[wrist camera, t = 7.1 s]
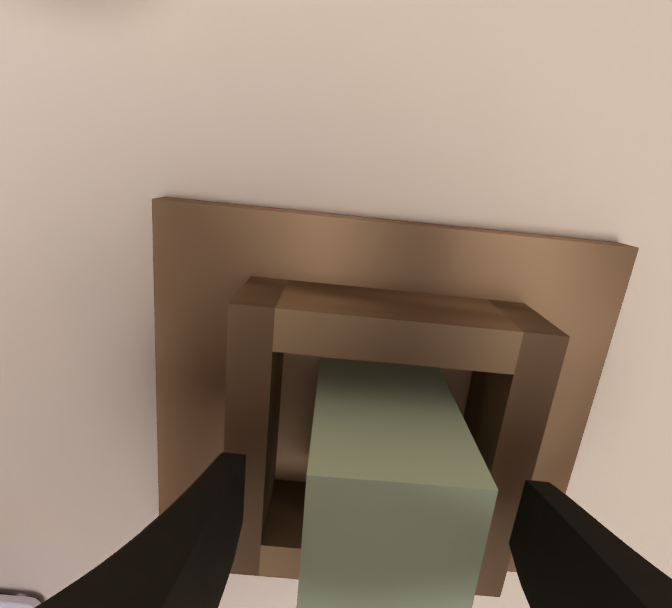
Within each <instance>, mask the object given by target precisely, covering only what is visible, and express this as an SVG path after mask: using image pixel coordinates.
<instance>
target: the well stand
mask: <svg viewBox="0 0 672 608" xmlns="http://www.w3.org/2000/svg"><path fill="white" fill-rule="evenodd" d="M152 220H153V264H154V308H155V351H156V395H157V439H158V483H159V515H160V514H162V513H163V512H164V511H165V510H166V509H167V508H168V507H169V506H170V505H171V504H172V503H173V502H174V501H175V500H176V499H177V498H178V497H179V496H180V495H181V494H182V493H183V492H184V491H185V490H186V489H187V488H188V487H189V486H190V485H191V484H192V483H193V482H194V481H195V480H196V479H197V478H198V477H199V476H200V475H201V474H202V473H203V472H204V471H205V469H206V468H207V467H208V466H209V465H210V464H211V463H212V462H213V461H214V459H215V458H216V457H217V456H218V455H219V454H221V453H222V452H225V453H236V454H246V468H245V491H244V513H243V523H242V527H241V532H240V536H239V541H238V545H237V550H236V554H235V558H234V562H233V565H232V568H231V571H230V573H232V574H243V575H255V576H266V577H277V578H289V579H299V571H300V558H301V544H302V530H303V517H304V503H305V490H306V476H307V467H308V459H309V450H310V442H311V433H312V425H313V416H314V407H315V399H316V390H317V382H318V373H319V365H320V357H322V358H334V359H347V360H359V361H372V362H384V363H396V364H407V365H418V366H428V367H439V369H440V371H441V373H442V375H443V377H444V379H445V381H446V383H447V385H448V387H449V389H450V391H451V393H452V395H453V397H454V399H455V402H456V404H457V406H458V408H459V410H460V412H461V414H462V416H463V418H464V420H465V422H466V424H467V426H468V428H469V430H470V433H471V435H472V437H473V439H474V441H475V443H476V445H477V447H478V449H479V451H480V453H481V455H482V457H483V459H484V461H485V463H486V466H487V468H488V470H489V472H490V474H491V476H492V478H493V480H494V482H495V484H496V486H497V488H498V494H497V498H496V503H495V507H494V512H493V516H492V520H491V525H490V529H489V534H488V538H487V543H486V547H485V551H484V556H483V560H482V565H481V569H480V574H479V578H478V582H477V587H476V591H475V595H482V596H493V597H500V595H501V592H502V588H503V584H504V580H505V577H506V573H507V571H510V572H517V571H516V567H515V564H514V560H513V557H512V553H511V550H510V546H509V540H510V537H511V533H512V529H513V525H514V521H515V518H516V514H517V510H518V506H519V503H520V499H521V495H522V491H523V487H524V484H525V480H533V481H544V482H550V483H551V484H552V485H554V486H555V487H557V488H558V489H559V490H560V491H562V492H563V493H564V494H565V493H566V490H567V486H568V483H569V480H570V476H571V473H572V470H573V466H574V463H575V460H576V456H577V453H578V450H579V446H580V443H581V440H582V436H583V433H584V430H585V426H586V423H587V419H588V416H589V413H590V409H591V406H592V403H593V399H594V396H595V393H596V389H597V386H598V383H599V379H600V376H601V373H602V369H603V366H604V363H605V359H606V356H607V353H608V349H609V346H610V343H611V339H612V336H613V333H614V329H615V326H616V322H617V319H618V316H619V312H620V309H621V306H622V302H623V299H624V296H625V292H626V289H627V286H628V282H629V279H630V276H631V272H632V269H633V266H634V262H635V259H636V256H637V252H638V249H639V248H637V247H633V246H630V245H626V244H622V243H617V242H607V241H597V240H587V239H577V238H567V237H557V236H547V235H537V234H527V233H517V232H508V231H498V230H488V229H478V228H468V227H458V226H448V225H438V224H428V223H418V222H408V221H398V220H388V219H378V218H368V217H358V216H348V215H338V214H328V213H319V212H309V211H299V210H289V209H279V208H269V207H259V206H249V205H239V204H229V203H219V202H209V201H199V200H189V199H179V198H169V197H162V198H155V199H152Z"/></svg>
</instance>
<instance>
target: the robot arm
mask: <svg viewBox="0 0 672 608" xmlns="http://www.w3.org/2000/svg"><path fill="white" fill-rule="evenodd" d="M245 468H246V454H236V453H225V452H222V453H221V454H219V455H218V456H217V457H216V458H215V459H214V461H213V462H212V463H211V464H210V465H209V466H208V467H207V468H206V469H205V471H204V472H203V473H202V474H201V475H200V476H199V477H198V478H197V479H196V480H195V481H194V482H193V483H192V484H191V485H190V486H189V487H188V488H187V489H186V490H185V491H184V492H183V493H182V494H181V495H180V496H179V497H178V498H177V499H176V500H175V501H174V502H173V503H172V504H171V505H170V506H169V507H168V508H167V509H166V510H165V511H164V512H163V513H162V514H160V515H159V516H158V517H157V518H156V519H155V520H154V521H153V522H151V523H150V524H149V525H148V526H147V527H146V528H145V529H144V530H142V531H141V532H140V533H139V534H138V535H137V536H135V537H134V538H133V539H132V540H131V541H129V542H128V543H127V544H126V545H124V546H123V547H122V548H121V549H119V550H118V551H117V552H116V553H114V554H113V555H112V556H110V557H109V558H108V559H106V560H105V561H104V562H102V563H101V564H100V565H98V566H97V567H95V568H94V569H93V570H91V571H90V572H88V573H87V574H85V575H84V576H83V577H81V578H80V579H78V580H77V581H75V582H74V583H72V584H71V585H69V586H68V587H66V588H65V589H63V590H62V591H60V592H59V593H57V594H56V595H54V596H53V597H51V598H49V599H48V600H46V601H44V602H43V603H41V602H40V601H39V600H37V599H36V598H33V597H26V596H14V595H2V594H0V608H218V606H219V603H220V600H221V597H222V595H223V592H224V589H225V586H226V583H227V580H228V577H229V574H230V571H231V568H232V565H233V562H234V558H235V554H236V550H237V545H238V541H239V536H240V532H241V527H242V523H243V513H244V491H245ZM509 546H510V550H511V553H512V557H513V560H514V564H515V567H516V571H517V574H518V577H519V580H520V583H521V586H522V589H523V591H524V594H525V596H526V598H527V601H528V603H529V605H530V608H672V579H671V578H670V577H668V576H667V575H666V574H664V573H663V572H662V571H660V570H659V569H658V568H656V567H655V566H654V565H652V564H651V563H650V562H648V561H647V560H646V559H644V558H643V557H642V556H641V555H639V554H638V553H637V552H635V551H634V550H633V549H632V548H630V547H629V546H628V545H627V544H625V543H624V542H623V541H622V540H620V539H619V538H618V537H617V536H615V535H614V534H613V533H612V532H610V531H609V530H608V529H607V528H606V527H604V526H603V525H602V524H601V523H600V522H598V521H597V520H596V519H595V518H594V517H592V516H591V515H590V514H589V513H587V512H586V511H585V510H584V509H583V508H581V507H580V506H579V505H578V504H577V503H575V502H574V501H573V500H572V499H570V498H569V497H568V496H567V495H566V494H564V493H563V492H562V491H560V490H559V489H558V488H557V487H555V486H554V485H552V484H551V483H550V482H544V481H533V480H525V484H524V487H523V491H522V495H521V499H520V503H519V506H518V510H517V514H516V518H515V521H514V525H513V529H512V533H511V537H510V540H509Z"/></svg>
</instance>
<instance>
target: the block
mask: <svg viewBox="0 0 672 608" xmlns="http://www.w3.org/2000/svg"><path fill="white" fill-rule="evenodd" d="M497 494H498V488H497V486H496V484H495V482H494V480H493V478H492V476H491V474H490V472H489V470H488V468H487V466H486V463H485V461H484V459H483V457H482V455H481V453H480V451H479V449H478V447H477V445H476V443H475V441H474V439H473V437H472V435H471V433H470V430H469V428H468V426H467V424H466V422H465V420H464V418H463V416H462V414H461V412H460V410H459V408H458V406H457V404H456V402H455V399H454V397H453V395H452V393H451V391H450V389H449V387H448V385H447V383H446V381H445V379H444V377H443V375H442V373H441V371H440V369H439V367H428V366H418V365H407V364H396V363H384V362H372V361H359V360H347V359H334V358H322V357H320V365H319V373H318V382H317V390H316V399H315V407H314V416H313V425H312V433H311V442H310V450H309V459H308V467H307V476H306V490H305V503H304V517H303V530H302V544H301V558H300V571H299V585H298V598H297V608H472V605H473V600H474V596H475V591H476V587H477V582H478V578H479V574H480V569H481V565H482V560H483V556H484V551H485V547H486V543H487V538H488V534H489V529H490V525H491V520H492V516H493V512H494V507H495V503H496V498H497Z"/></svg>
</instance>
